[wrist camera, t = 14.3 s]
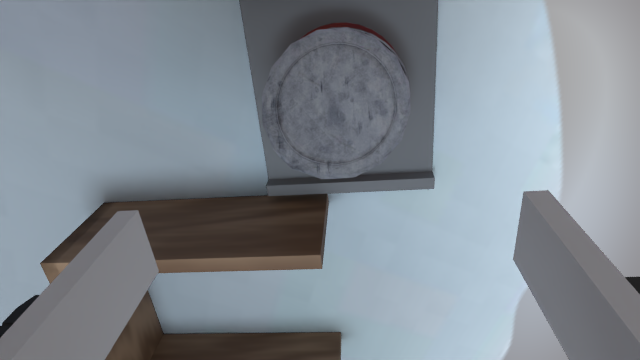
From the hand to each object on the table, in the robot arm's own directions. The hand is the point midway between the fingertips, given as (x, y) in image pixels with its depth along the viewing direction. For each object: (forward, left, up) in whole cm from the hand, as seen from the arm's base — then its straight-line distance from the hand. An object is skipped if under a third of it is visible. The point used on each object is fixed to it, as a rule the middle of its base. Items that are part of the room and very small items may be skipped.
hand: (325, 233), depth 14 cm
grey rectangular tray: (0, 0, -20) cm, 20 cm away
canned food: (0, 0, -20) cm, 20 cm away
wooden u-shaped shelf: (+19, -12, -20) cm, 30 cm away
